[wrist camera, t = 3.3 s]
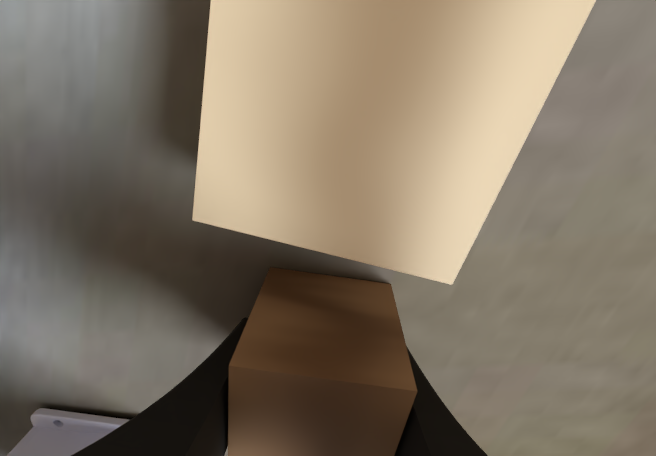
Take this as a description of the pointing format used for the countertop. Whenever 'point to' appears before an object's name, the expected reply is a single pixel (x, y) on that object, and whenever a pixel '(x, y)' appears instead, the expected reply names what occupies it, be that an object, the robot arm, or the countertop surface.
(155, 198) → the countertop surface
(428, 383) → the robot arm
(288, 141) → the maple block
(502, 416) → the countertop surface
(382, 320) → the walnut cube
